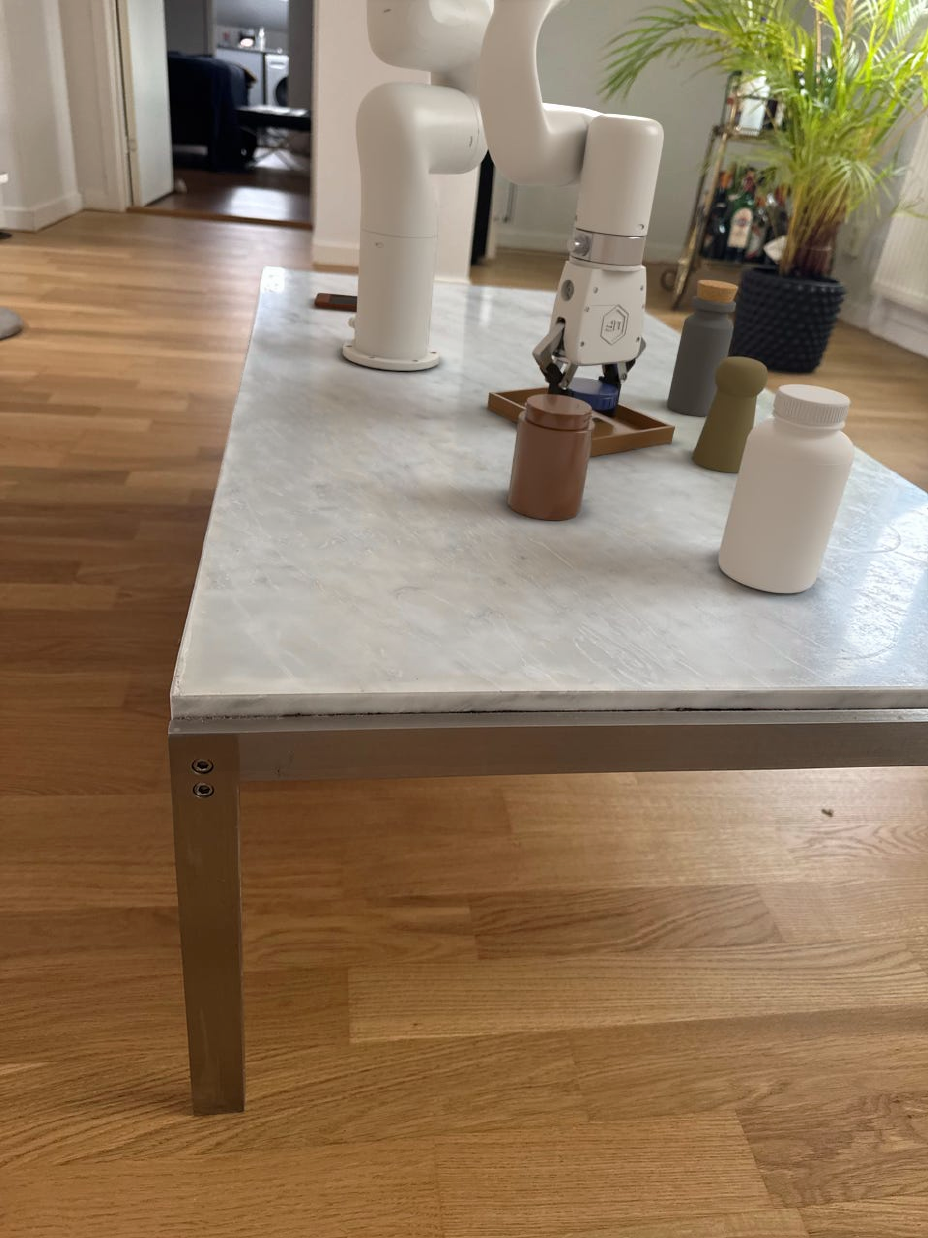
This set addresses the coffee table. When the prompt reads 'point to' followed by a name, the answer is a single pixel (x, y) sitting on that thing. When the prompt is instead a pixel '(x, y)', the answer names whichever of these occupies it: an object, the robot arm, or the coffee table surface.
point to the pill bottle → (788, 491)
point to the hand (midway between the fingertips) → (580, 416)
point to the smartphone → (336, 301)
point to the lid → (594, 393)
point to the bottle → (702, 348)
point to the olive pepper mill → (730, 414)
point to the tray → (609, 433)
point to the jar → (551, 457)
